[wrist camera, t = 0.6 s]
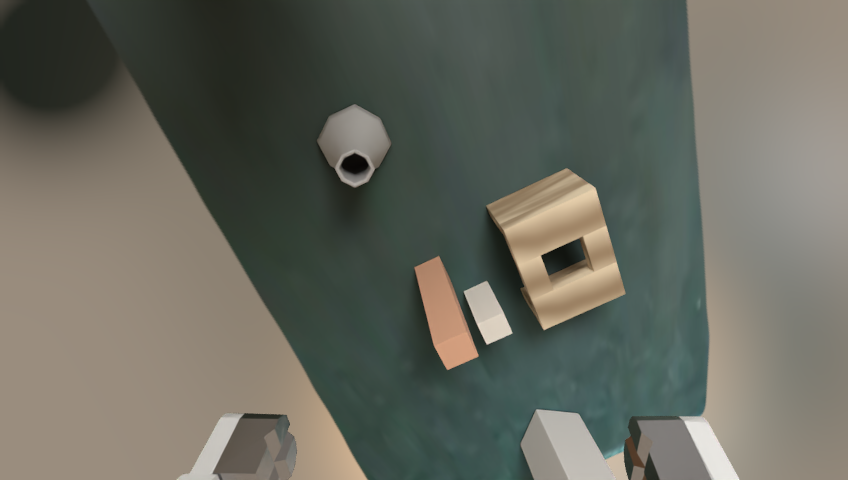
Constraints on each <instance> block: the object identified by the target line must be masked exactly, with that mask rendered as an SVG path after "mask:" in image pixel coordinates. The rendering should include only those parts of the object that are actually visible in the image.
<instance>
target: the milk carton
mask: <svg viewBox="0 0 848 480" xmlns="http://www.w3.org/2000/svg"><path fill="white" fill-rule="evenodd" d="M520 445H521V448H522V450H523V453H524V455H525V458H526V460H527V463H528V465H529V468H530V470H531V473H532V475H533V478H534V480H616V478H615V477H614V475H613V473H612V471H611V469H610V468H609V466H608V464H607V462H606V461H605V459H604V457H603V455H602V454H601V452H600V450H599V448H598V447H597V445H596V443H595V441H594V440H593V438H592V436H591V435H590V433H589V431H588V429H587V428H586V426H585V424H584V422H583V421H582V419H581V417H580V415H579V414H578V413H569V412H560V411H550V410H539V409H536V411H535V413H534V415H533V417H532V420H531V422H530V424H529V426H528V428H527V431H526V433H525V435H524V437H523V440H522V442H521V444H520Z"/></svg>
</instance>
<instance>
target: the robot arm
mask: <svg viewBox="0 0 848 480" xmlns="http://www.w3.org/2000/svg"><path fill="white" fill-rule="evenodd" d="M289 425H290V423H289V420H288V418H287V415H276V414H275V415H274V414H248V413H247V414H246V413H225V414H224V415H223V416H222V417H221V418H220V419H219V421H218V423H217V424H216V426H215V428H214V430H213V432H212V433H211V435H210V437H209V439H208V441H207V442H206V444H205V446H204V448H203V450H202V452H201V453H200V455H199V457H198V459H197V461H196V463H195V464H194V466H193V468H192V470H191V472H190V473H189V474H183V475H181V476H180V477H179V478H177V479H176V480H288V479H289V478H290V477H291V476H292V472H293V470H294V466H295V460H296V454H297V449H296V441H295V438H294V436H293V435H292V434H290V433H289V432H288V428H289ZM628 429H629V432H630V434H631V436H630V437H629V438H627V439H626V440H625V445H624V462H625V467H626V472H627V475H628V479H629V480H739V478H738V476H737V475H736V472H735V470H734V469H733V467H732V465H731V463H730V461H729V460H728V458H727V456H726V454H725V452H724V450H723V449H722V447H721V445H720V443H719V441H718V440H717V438H716V436H715V434H714V432H713V430H712V429H711V427H710V425H709V423H708V421H707V420H706V419H704V418H703V417H677V416H632V417H631V419H630V420H629V425H628Z"/></svg>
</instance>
